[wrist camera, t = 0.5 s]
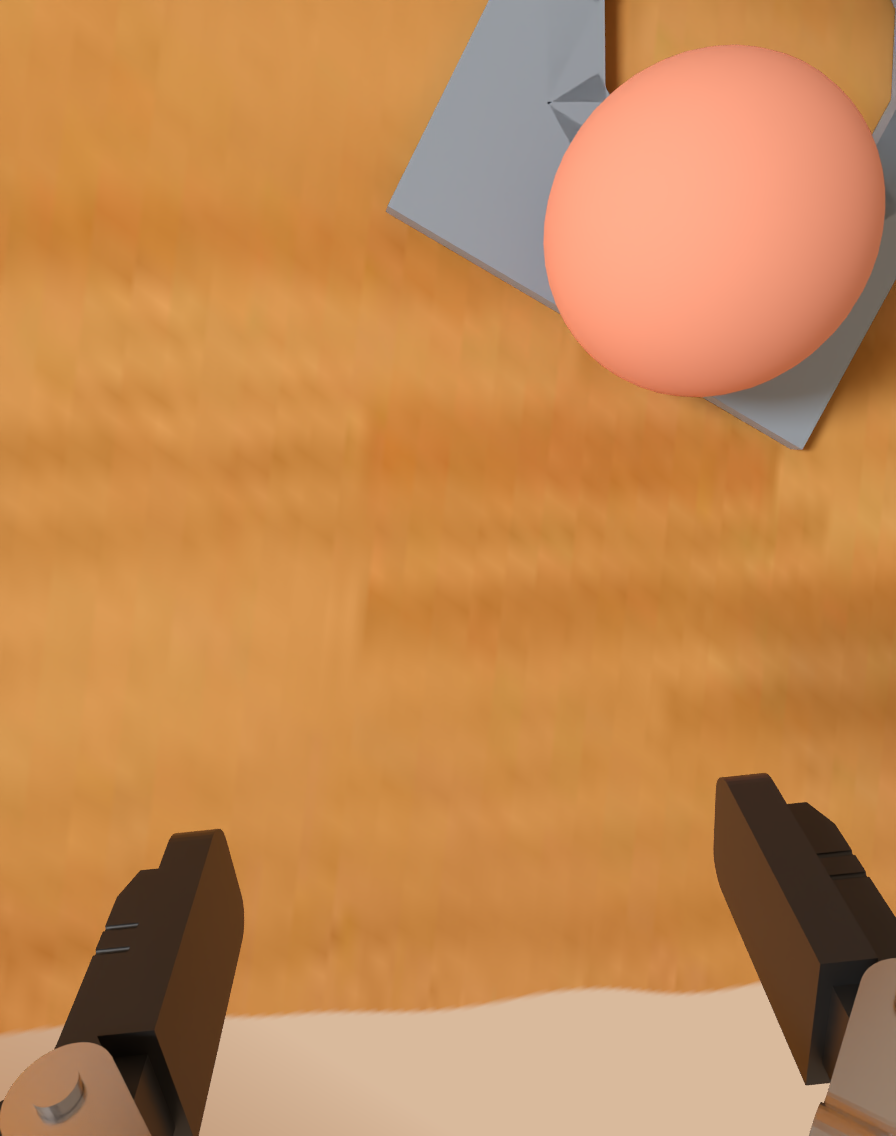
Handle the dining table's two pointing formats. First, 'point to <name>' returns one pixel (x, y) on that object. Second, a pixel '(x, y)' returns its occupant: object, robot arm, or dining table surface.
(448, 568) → the dining table surface
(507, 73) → the hole board
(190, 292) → the dining table surface
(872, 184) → the ball
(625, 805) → the dining table surface
